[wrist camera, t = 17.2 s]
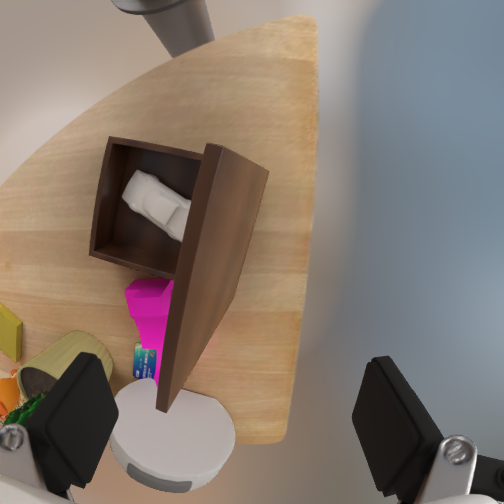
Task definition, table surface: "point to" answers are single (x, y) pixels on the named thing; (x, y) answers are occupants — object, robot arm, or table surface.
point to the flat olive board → (10, 334)
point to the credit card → (144, 362)
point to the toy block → (150, 312)
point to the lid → (208, 261)
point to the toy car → (157, 203)
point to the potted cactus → (53, 371)
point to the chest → (130, 222)
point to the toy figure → (9, 395)
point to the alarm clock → (170, 438)
